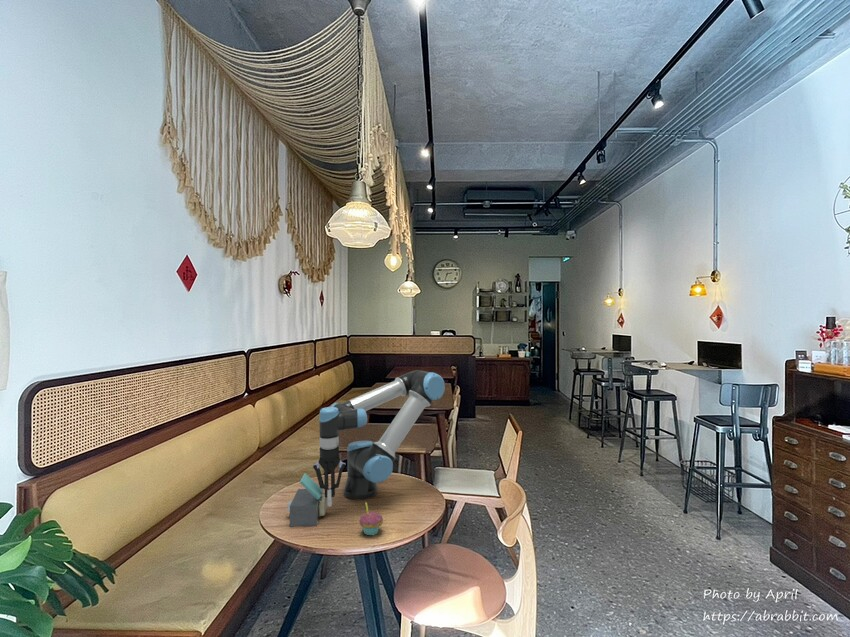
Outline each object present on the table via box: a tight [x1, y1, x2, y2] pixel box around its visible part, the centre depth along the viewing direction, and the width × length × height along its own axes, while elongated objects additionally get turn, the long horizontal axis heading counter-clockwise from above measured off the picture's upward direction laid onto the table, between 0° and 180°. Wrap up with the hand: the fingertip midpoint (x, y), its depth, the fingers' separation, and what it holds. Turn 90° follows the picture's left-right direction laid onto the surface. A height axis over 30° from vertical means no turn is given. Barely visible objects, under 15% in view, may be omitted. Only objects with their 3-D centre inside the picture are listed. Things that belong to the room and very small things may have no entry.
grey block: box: [289, 488, 324, 528], centre depth 171 cm, size 10×16×8 cm, turn 5°
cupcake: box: [359, 501, 384, 536], centre depth 158 cm, size 9×8×12 cm
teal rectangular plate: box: [299, 472, 324, 500], centre depth 171 cm, size 10×8×1 cm
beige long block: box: [286, 493, 328, 517], centre depth 171 cm, size 15×6×6 cm, turn 95°
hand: (329, 504), depth 172 cm, fingers closed
